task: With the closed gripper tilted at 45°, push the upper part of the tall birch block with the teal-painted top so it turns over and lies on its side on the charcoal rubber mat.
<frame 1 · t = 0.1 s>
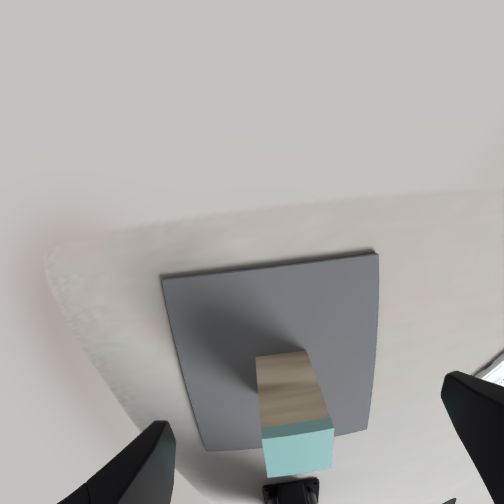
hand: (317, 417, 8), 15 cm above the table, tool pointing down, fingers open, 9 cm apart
birch block: (282, 374, 24), resting on rubber mat
external hard drive: (484, 394, 28), on the table
rubber mat: (281, 370, 24), on the table
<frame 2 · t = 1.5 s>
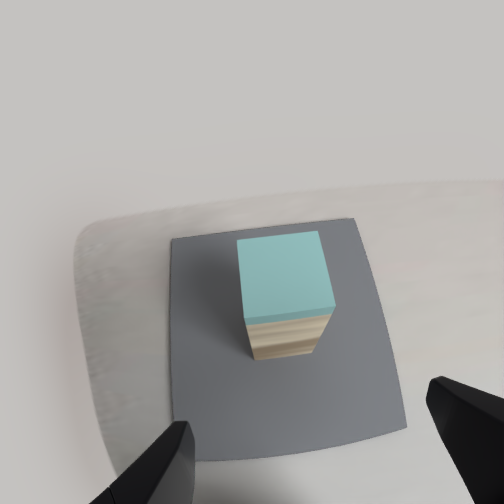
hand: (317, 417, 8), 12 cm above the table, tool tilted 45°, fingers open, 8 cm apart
birch block: (279, 330, 22), resting on rubber mat
rubber mat: (279, 332, 22), on the table
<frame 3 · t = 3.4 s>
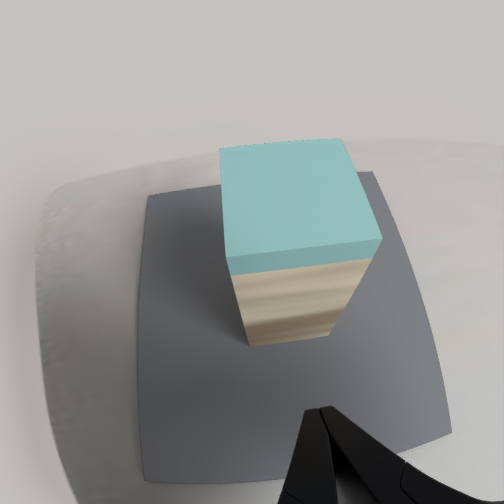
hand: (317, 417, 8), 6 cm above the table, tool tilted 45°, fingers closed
birch block: (283, 305, 16), resting on rubber mat
rubber mat: (283, 308, 17), on the table
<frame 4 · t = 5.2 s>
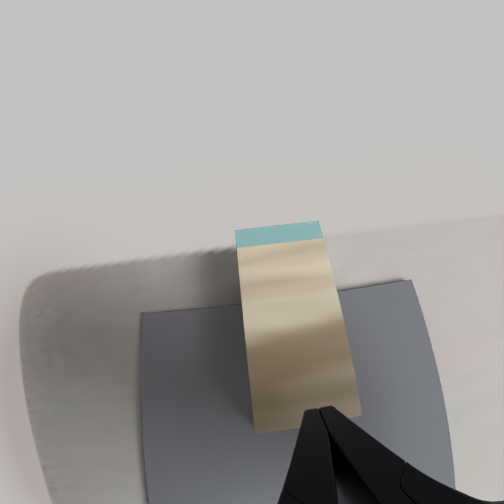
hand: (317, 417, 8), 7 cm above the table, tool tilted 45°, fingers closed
birch block: (304, 426, 12), point 2 cm above the table, tilted 90°, touching rubber mat
rubber mat: (304, 463, 13), on the table
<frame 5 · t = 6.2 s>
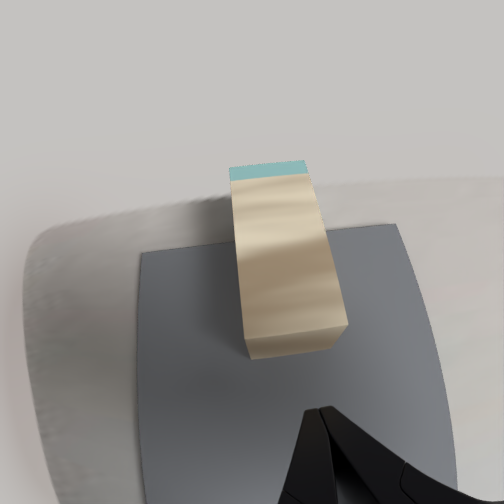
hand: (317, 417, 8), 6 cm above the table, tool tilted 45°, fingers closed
birch block: (294, 345, 13), point 2 cm above the table, tilted 90°, touching rubber mat
rubber mat: (296, 394, 14), on the table
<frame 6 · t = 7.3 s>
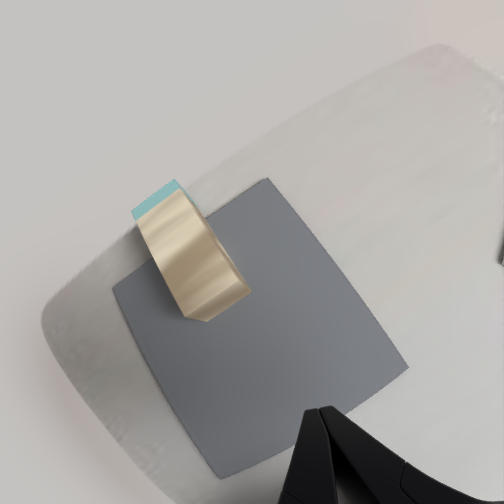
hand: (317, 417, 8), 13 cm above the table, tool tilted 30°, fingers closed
birch block: (220, 303, 20), point 2 cm above the table, tilted 90°, touching rubber mat
rubber mat: (245, 330, 22), on the table
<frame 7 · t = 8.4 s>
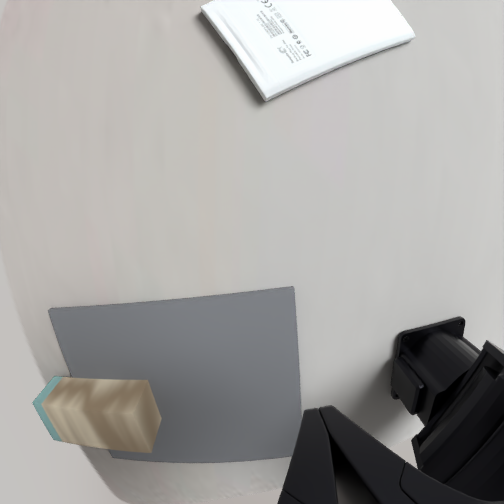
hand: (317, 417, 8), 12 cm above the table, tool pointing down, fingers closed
birch block: (148, 416, 19), point 2 cm above the table, tilted 90°, touching rubber mat
external hard drive: (310, 22, 17), on the table
rubber mat: (180, 395, 22), on the table
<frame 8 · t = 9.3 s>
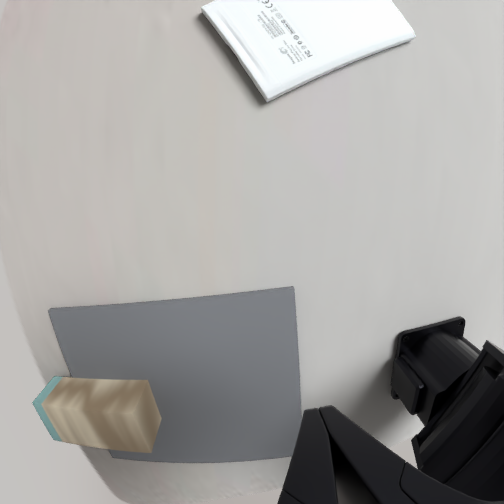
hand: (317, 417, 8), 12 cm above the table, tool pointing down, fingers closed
birch block: (148, 416, 19), point 2 cm above the table, tilted 90°, touching rubber mat
external hard drive: (311, 22, 17), on the table
rubber mat: (180, 396, 22), on the table
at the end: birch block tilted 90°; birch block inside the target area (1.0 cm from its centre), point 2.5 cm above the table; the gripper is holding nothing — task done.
